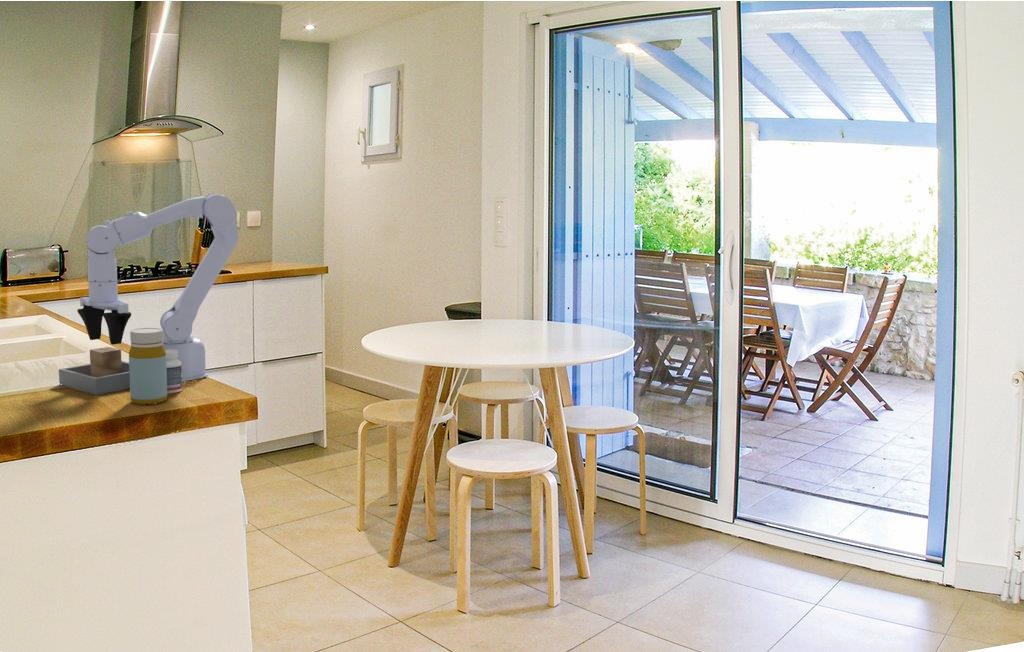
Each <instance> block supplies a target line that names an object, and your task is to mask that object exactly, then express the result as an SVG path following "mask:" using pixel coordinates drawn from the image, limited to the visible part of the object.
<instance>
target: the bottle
mask: <svg viewBox="0 0 1024 652" xmlns="http://www.w3.org/2000/svg"><path fill="white" fill-rule="evenodd" d="M129 333H130V336H129V337H130V348H129V352H128V362H129V373H130V388H129V391H130V392H129V394H130V395H129V396H130V401H131V402H132V403H133V404H135V405H138V406H139V405H140V406H147V405H146V404H154V405H156V404H155V403H159V404H161V403H160V402H162V403H164V402H165V401H166V400H167V398H168V393H167V369H166V351H165V349H164V346H163V335H164V334H163V329H162V328H159V327H139V328H134V329H130V331H129ZM163 401H164V402H163Z"/></svg>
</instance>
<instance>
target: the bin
mask: <svg viewBox="0 0 1024 652" xmlns="http://www.w3.org/2000/svg"><path fill="white" fill-rule="evenodd" d="M121 364H122V373H119V374H114V375H108V376H103V377H97V378H96V377H93V376H91V367H90V363H87V364H82V365H75V366H70V367H65V368H64V367H63V368H59V369H58V380H59V381H58V382H59V383H60V384H62V385H63V387H66V388H70V389H74V390H78V391H80V392H84V393H87V394H90V395H96V396H99V395H103V394H108V393H113V392H117V391H122V390H127V389H130V373H129V361H128V362H127V361H125V360H121ZM59 383H58V384H59ZM60 384H59V385H60ZM62 385H61V386H62Z"/></svg>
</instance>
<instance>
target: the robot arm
mask: <svg viewBox="0 0 1024 652" xmlns="http://www.w3.org/2000/svg"><path fill="white" fill-rule="evenodd" d="M125 213H126V215H125V216H122V217H119V218H116V219H114V220H109V219H107V220H104V221H103V223H104V225H95V226H92V227H91V228H90V229H89V230H88V232H87V234H86V237H85V242H86V245H87V247H88V250H87V252H86V253H87V257H88V259H87V262H86V263H87V281H88V285H87V286H88V296H83V297H80V298H79V305H80V307H82V308H77V309H76V310H77V314H79V317H80V318H81V320H82V321H83V323H84V326H85V328H86V331H87V335H88V339H89V340H90V341H96V340H100V339H101V337H102V323H103V319H104V320H105V322H106V326H107V331H108V337H109V342H110V345H119V344H122V340H123V337H124V333H125V329H126V326H127V324H128V321H129V320H130V318H131V317H132V312H130V311H129V303H127V302H123V301H122V300H119V293H118V291H119V290H118V269H117V267H118V265H117V259H116V257H115V256H116V255H115V248H116V246H121V247H122V246H126V245H128V244H131V243H135V242H136V241H139V240H142V239H144V238H147V237H150V236H151V234H152V231H153V229H154V228H157V227H160V226H164V225H167V224H169V223H172V222H175V221H178V220H183V219H184V218H187V217H190V218H191V217H192V218H197V219H204V217H205V219H206V220H207V222H208V223H209V224H210V228H211V231H212V233H213V236H214V239H213V240H212V242H211V244H210V246H209V248H208V249H207V251H206V252H205V254H204V256H203V257H202V259H201V261H200V262H199V264H198V266H197V267H196V270H194V273H192V276H191V278H190V279H189V281H188V282H187V284H186V286H185V288H184V290H183V291H182V293H181V295H179V297H178V298H177V299H176V301H175V302H174V304H173V305H172V306H171V308H170V309H168V310H166V311H165V312H164V313H163V314H162V315H161V317H160V320H159V323H160V324H159V325H160V327H161V328H160V329H163V346H164V349H165V350H168V349H172V350H177V351H178V358H177V360H179V361H181V364H182V383H183V382H187V381H194V380H196V379H198V380H199V379H202V378H208V377H209V375H208V374H207V373H206V348H205V345H204V343H203V341H201V339H199V338H195V337H194V336H191V335H192V332H193V325H194V324H193V323H194V322H195V320H196V318H197V315H198V312H199V309H200V307H201V305H202V303H203V302H204V300H205V299H206V297H207V295H208V293H209V292H210V290H211V288H212V287H213V285H214V284H215V282H216V280H217V278H218V276H219V275H220V273H221V271H222V270H223V268H224V267H225V265H226V263H227V262H228V260H229V258H230V256H231V255H232V253H233V252H234V249H235V248H236V246H237V245H238V242H239V229H238V212H237V210H236V208H235V206H234V204H233V201H232V200H231V199H230V198H229V197H228V196H226V195H225V194H220V193H209V194H207V195H205V196H204V195H201V196H196V197H195V196H194V197H190V198H187V199H184V200H182V201H179V202H176V203H174V204H172V205H169V206H166V207H164V208H161V209H160V210H156V211H154V212H151V213H148V214H145V213H143V212H141V211H136V212H133V211H132V210H130V211H128V212H125ZM105 311H110V312H105Z"/></svg>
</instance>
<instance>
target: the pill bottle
mask: <svg viewBox="0 0 1024 652" xmlns="http://www.w3.org/2000/svg"><path fill="white" fill-rule="evenodd" d="M165 351H166V369H167V394H175V393H179V392H182V390H183V382H182V364H181V361H179V360H177V358H178V351H177V350H172V349H168V350H165Z"/></svg>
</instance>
